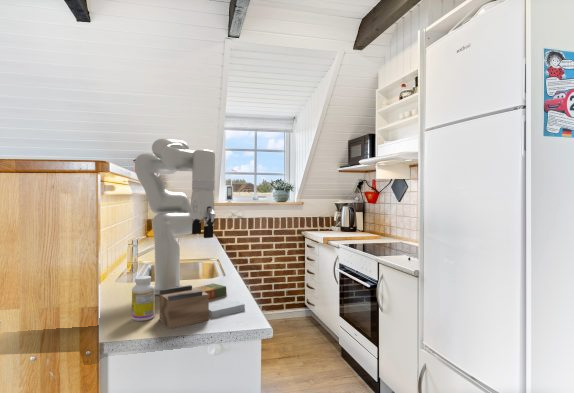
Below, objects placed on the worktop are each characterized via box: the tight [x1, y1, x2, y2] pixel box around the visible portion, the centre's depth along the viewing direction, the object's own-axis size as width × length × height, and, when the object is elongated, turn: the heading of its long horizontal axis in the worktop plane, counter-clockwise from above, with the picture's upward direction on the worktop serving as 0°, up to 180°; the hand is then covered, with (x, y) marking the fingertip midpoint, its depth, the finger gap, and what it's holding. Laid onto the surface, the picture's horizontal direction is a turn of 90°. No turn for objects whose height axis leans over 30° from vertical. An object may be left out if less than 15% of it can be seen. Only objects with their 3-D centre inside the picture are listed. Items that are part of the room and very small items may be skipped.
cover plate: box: [209, 299, 246, 319], centre depth 118 cm, size 6×12×2 cm, turn 129°
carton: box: [194, 283, 228, 301], centre depth 133 cm, size 8×16×4 cm, turn 140°
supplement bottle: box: [131, 275, 156, 322], centre depth 112 cm, size 7×7×13 cm
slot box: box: [159, 284, 210, 330], centre depth 110 cm, size 10×12×9 cm
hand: (202, 235), depth 122 cm, fingers open, 9 cm apart
